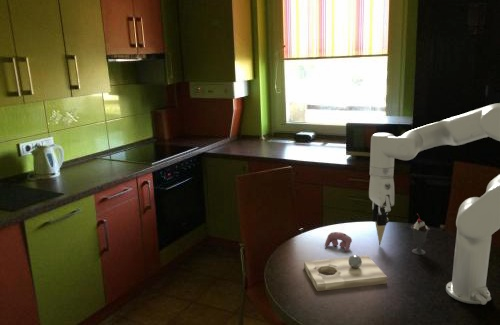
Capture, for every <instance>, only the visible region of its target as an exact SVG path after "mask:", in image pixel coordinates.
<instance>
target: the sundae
mask: <svg viewBox="0 0 500 325" xmlns="http://www.w3.org/2000/svg"><path fill="white" fill-rule="evenodd" d="M416 215H417V216H418V219H417V220H416V222H414V224H411V225H410V228H411V230H412V235H413V241H414V242H415V244H417V247H416V248H414V249H412V250H411V252H412V254H414V255H418V256H424V255H425V254H426V251H425V250H424V249H422V247H421V246H422V244H424V243H425V242H426V239H427V235H428V231H430V230H431V229H430V227H429V226H427V225H426V224H425V221H424V220H421V219H420V218H421V217H420V215H419V213H416Z"/></svg>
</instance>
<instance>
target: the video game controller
mask: <svg viewBox="0 0 500 325" xmlns="http://www.w3.org/2000/svg"><path fill="white" fill-rule="evenodd" d="M352 240H353V239H352V237H351V236H350V235H348V234H346V233H343V232H339V231H332V232H330V233H329V234H328V235H327V237H326V240H325V243H324V247H325V248H326V249H327V248H328V247H329V246H330V244H332V246H333V247H337V246H340V248H342V249H344V251H345V253H348V252H349V250H350V247H351V244H352ZM339 241H341V242H340V243H339Z"/></svg>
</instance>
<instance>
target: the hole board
mask: <svg viewBox="0 0 500 325" xmlns="http://www.w3.org/2000/svg"><path fill="white" fill-rule="evenodd" d="M358 256H359V257H360V258H361V260H362V264H361V266H360V267H359V268H352V267H351V266H350V265H349V262H348V261H349V258H350V257H351V256H346V257H337V258H336V257H335V258H327V259H326V258H325V259H318V260H306V261H304V262H303V269H304V270H305V272H306V274H307V275H308V277H309V279H310V280H311V283H312V285H313V286H314V288H315V290H316V291H317V292H321V291H322V292H323V291H329V290H340V289H349V288H357V287H358V288H359V287H367V286H375V285H382V284H387V282H388V276H387V275H386V274H385V273H384V271H383V270H382V269H381V268H380V267H379V266H378V265H377V264H376V263H375V262H374V261H373V260H372V258H370V256H369V255H367V254H365V255H358ZM323 273H329V274H330V275H329V274H328V275H326V274H323Z"/></svg>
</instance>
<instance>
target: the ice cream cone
mask: <svg viewBox="0 0 500 325" xmlns="http://www.w3.org/2000/svg"><path fill="white" fill-rule="evenodd" d="M388 223H389V218H388V217H387V224H388ZM387 224H386V225H383V226H378V225H377V221H376V222H375V228H376V234H377V238H378V240H377V241H378V244H379V247H380V246H381V244H382V239H383V236H384V232H385V230H386V226H387Z"/></svg>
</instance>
